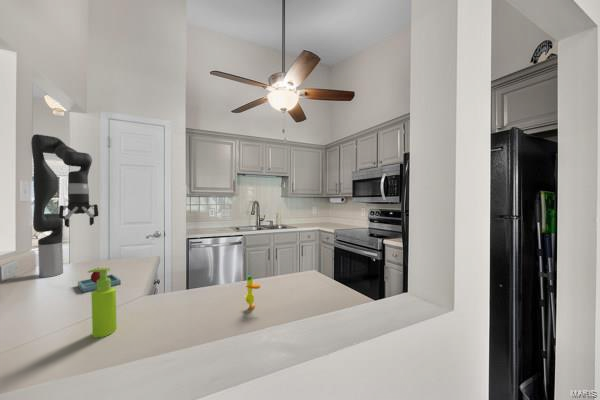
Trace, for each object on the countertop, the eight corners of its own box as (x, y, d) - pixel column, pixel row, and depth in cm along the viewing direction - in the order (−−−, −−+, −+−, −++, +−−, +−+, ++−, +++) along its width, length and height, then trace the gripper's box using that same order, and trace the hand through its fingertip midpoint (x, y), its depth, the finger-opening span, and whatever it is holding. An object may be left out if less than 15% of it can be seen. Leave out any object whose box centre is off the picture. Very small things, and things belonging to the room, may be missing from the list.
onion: (109, 282, 120) (109, 265, 120) (99, 286, 114) (98, 269, 114) (98, 281, 121) (98, 265, 120) (87, 286, 115) (87, 269, 115)
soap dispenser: (98, 328, 79) (96, 266, 79) (120, 326, 80) (119, 265, 79) (83, 338, 73) (81, 272, 73) (108, 337, 74) (106, 271, 73)
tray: (77, 286, 117) (77, 281, 117) (113, 278, 127) (112, 274, 127) (83, 293, 108) (83, 288, 108) (120, 284, 118) (120, 279, 118)
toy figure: (262, 306, 93) (261, 275, 93) (258, 310, 90) (258, 278, 89) (245, 304, 95) (245, 274, 94) (241, 309, 91) (241, 277, 91)
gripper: (95, 193, 128) (96, 224, 128) (57, 193, 117) (58, 227, 117) (99, 192, 123) (99, 225, 123) (59, 192, 112) (60, 228, 112)
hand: (79, 226), depth 120 cm, fingers open, 8 cm apart
